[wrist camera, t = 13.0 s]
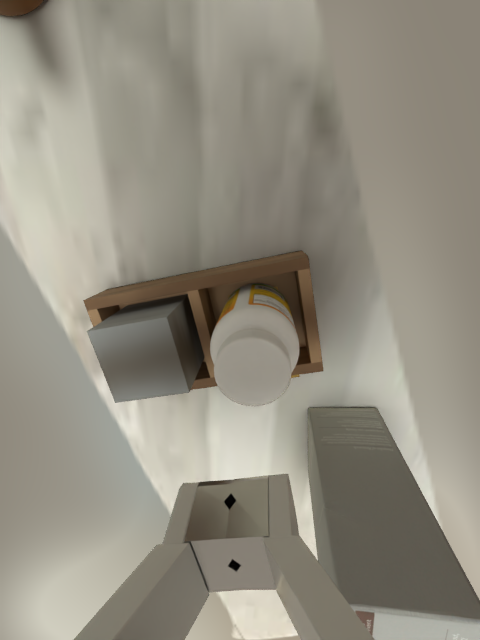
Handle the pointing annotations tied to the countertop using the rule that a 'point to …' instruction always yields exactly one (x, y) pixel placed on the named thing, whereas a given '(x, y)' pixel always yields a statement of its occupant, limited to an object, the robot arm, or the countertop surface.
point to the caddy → (189, 325)
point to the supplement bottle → (254, 345)
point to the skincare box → (383, 533)
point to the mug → (18, 6)
